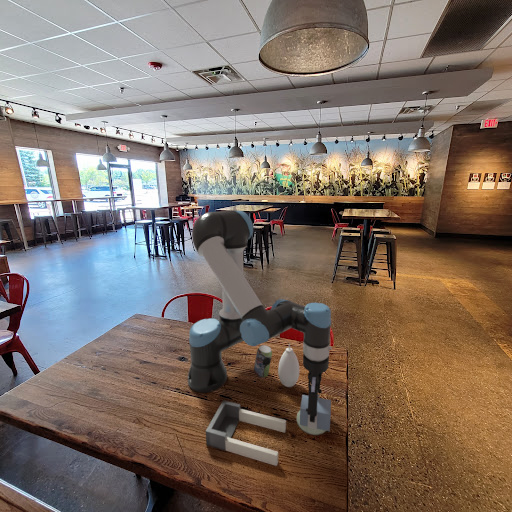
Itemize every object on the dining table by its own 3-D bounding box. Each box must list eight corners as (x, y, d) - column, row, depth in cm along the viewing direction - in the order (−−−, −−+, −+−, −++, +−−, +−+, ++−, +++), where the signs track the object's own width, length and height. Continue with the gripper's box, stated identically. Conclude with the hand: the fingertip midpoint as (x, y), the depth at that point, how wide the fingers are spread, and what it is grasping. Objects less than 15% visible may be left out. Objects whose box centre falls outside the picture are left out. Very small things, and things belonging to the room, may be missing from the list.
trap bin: (206, 445, 78) (205, 431, 77) (223, 412, 89) (223, 400, 88) (225, 450, 76) (224, 436, 75) (240, 417, 87) (240, 404, 86)
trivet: (294, 430, 83) (294, 428, 82) (299, 406, 92) (299, 404, 92) (327, 438, 80) (327, 436, 79) (329, 412, 89) (329, 410, 89)
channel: (225, 450, 76) (225, 440, 75) (240, 417, 87) (240, 408, 86) (276, 466, 72) (277, 455, 71) (285, 429, 83) (286, 420, 82)
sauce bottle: (301, 381, 104) (302, 339, 99) (295, 395, 97) (296, 350, 93) (282, 375, 107) (282, 335, 103) (275, 388, 100) (275, 345, 96)
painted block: (299, 424, 84) (300, 408, 82) (301, 410, 89) (302, 394, 88) (329, 431, 81) (330, 414, 80) (329, 415, 87) (330, 400, 85)
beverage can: (253, 369, 111) (252, 343, 108) (270, 368, 111) (270, 342, 108) (254, 380, 105) (254, 353, 102) (273, 379, 105) (273, 352, 102)
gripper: (327, 377, 70) (323, 449, 75) (330, 340, 88) (327, 400, 93) (298, 372, 72) (296, 441, 78) (307, 336, 90) (305, 395, 95)
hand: (313, 419), depth 85 cm, fingers open, 6 cm apart
